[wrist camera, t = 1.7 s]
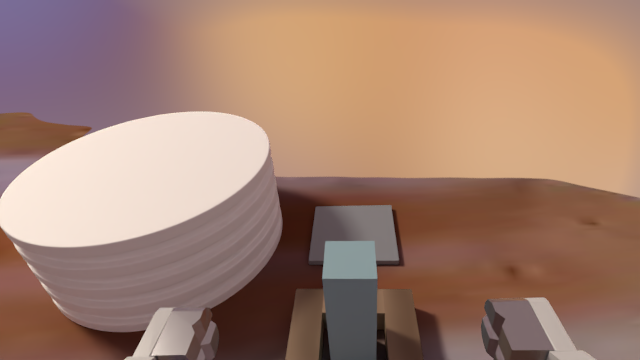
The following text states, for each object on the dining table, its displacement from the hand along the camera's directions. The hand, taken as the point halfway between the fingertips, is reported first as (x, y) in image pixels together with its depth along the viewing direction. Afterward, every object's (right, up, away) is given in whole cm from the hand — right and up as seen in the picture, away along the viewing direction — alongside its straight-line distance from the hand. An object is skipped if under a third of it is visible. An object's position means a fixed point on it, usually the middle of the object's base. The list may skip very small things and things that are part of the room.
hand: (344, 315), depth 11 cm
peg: (+2, -11, +21) cm, 24 cm away
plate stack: (-20, -3, +37) cm, 42 cm away
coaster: (+3, -3, +35) cm, 35 cm away
